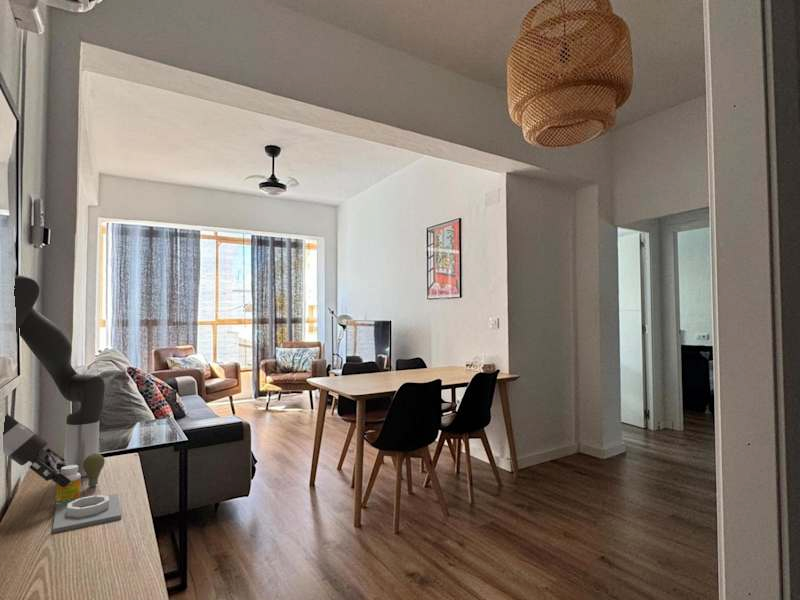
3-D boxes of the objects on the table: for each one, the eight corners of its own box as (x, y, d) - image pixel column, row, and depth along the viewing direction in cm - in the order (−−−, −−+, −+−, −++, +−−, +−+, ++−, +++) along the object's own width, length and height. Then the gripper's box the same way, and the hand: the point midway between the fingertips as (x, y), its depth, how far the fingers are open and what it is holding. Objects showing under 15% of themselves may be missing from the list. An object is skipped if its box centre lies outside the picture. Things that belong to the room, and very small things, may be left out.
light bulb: (77, 487, 134) (79, 454, 135) (97, 482, 139) (98, 450, 140) (87, 491, 132) (89, 457, 133) (107, 485, 137) (108, 452, 137)
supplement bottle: (59, 507, 120) (61, 471, 121) (53, 502, 123) (55, 467, 124) (82, 501, 124) (84, 466, 125) (75, 496, 127) (77, 462, 128)
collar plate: (56, 508, 119) (57, 496, 119) (117, 497, 127) (117, 486, 128) (52, 533, 105) (53, 520, 105) (121, 518, 113) (121, 506, 113)
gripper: (27, 438, 115) (78, 476, 120) (39, 427, 127) (85, 462, 132) (-1, 461, 112) (53, 499, 117) (14, 448, 124) (62, 483, 129)
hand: (70, 479), depth 124 cm, fingers open, 8 cm apart
